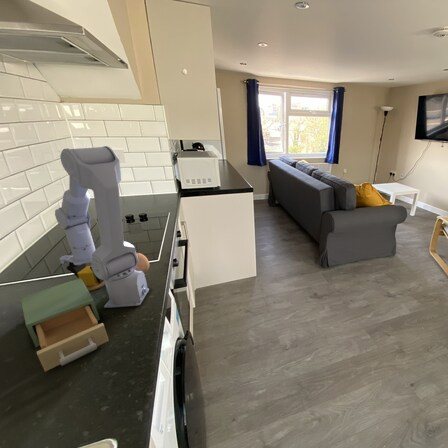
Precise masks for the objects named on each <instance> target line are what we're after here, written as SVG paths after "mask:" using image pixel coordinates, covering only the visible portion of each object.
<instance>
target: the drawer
mask: <svg viewBox="0 0 448 448" xmlns="http://www.w3.org/2000/svg"><path fill="white" fill-rule="evenodd" d="M35 326H36V330H37V334H38V338H39V342H40V346H39V347H40V349H39V350H37V351H36V355H37V358H38V360H39V362H40V365H41V366H42V369H43V370H44V372H47V371H49V370H51V369H53V368H56V367H58V366H60V365H61V367H63V366H65V365H67V364H69V363H71V362H73V361H75V360H77V359H79V358H81V357H83V356H86V355H88V354H90V353H92V352H93V351H95V350H97V349H98V347H99V346H101V345H103V344H105V343H107V342H109V341H110V339H109V337H108V334H107V330H106V328H105V327H106V326H105V324H104V323H103V322H101V323H99V322H98V321H97V320H96V318H95V316H94V315H93V313H92V311H91V309H90V307H89V306H88V305H86V306H83V307H80V308H78V309H75V310H73V311H70V312H67V313H65V314H62V315H60V316H57V317H54V318H52V319H49V320H46V321H44V322H41V323H39V324H36V325H35Z"/></svg>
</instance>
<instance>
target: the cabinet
mask: <svg viewBox="0 0 448 448" xmlns="http://www.w3.org/2000/svg"><path fill="white" fill-rule="evenodd" d="M19 299H20V303H21V307H22V308H21V309H22V312H23V318H24V323H25V326H26V329H27V332H28V333H29V336H30V338H31V340H32V343H33V344H34V347H35V348H38V347H41V346H40V342H39V338H38V334H37V330H36V326H35V325H36V324H39V323H41V322H44V321H46V320H49V319H52V318H54V317H57V316H60V315H62V314H65V313H67V312H70V311H73V310H75V309H78V308H80V307H83V306H86V305H88V306H89V307H90V309H91V311H92V313H93V315H94V316H95V318H96V320H97V322H98V321H100V320H101V319H100V316H99V312H98V310H97V306H96V304H95V303H96V302H95V300H94V298H93V296H92V295H91V292H90V291H88V290H87V288H86V286H85V285H84V283H83V281H82V279H81V278H79V279H78V278H76V279H73V280H70V281H67V282H63V283H61V284H57V285H55V286H51V287H48V288H45V289H42V290H39V291H35V292H33V293H29V294H26V295H23V296H20V298H19Z"/></svg>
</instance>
